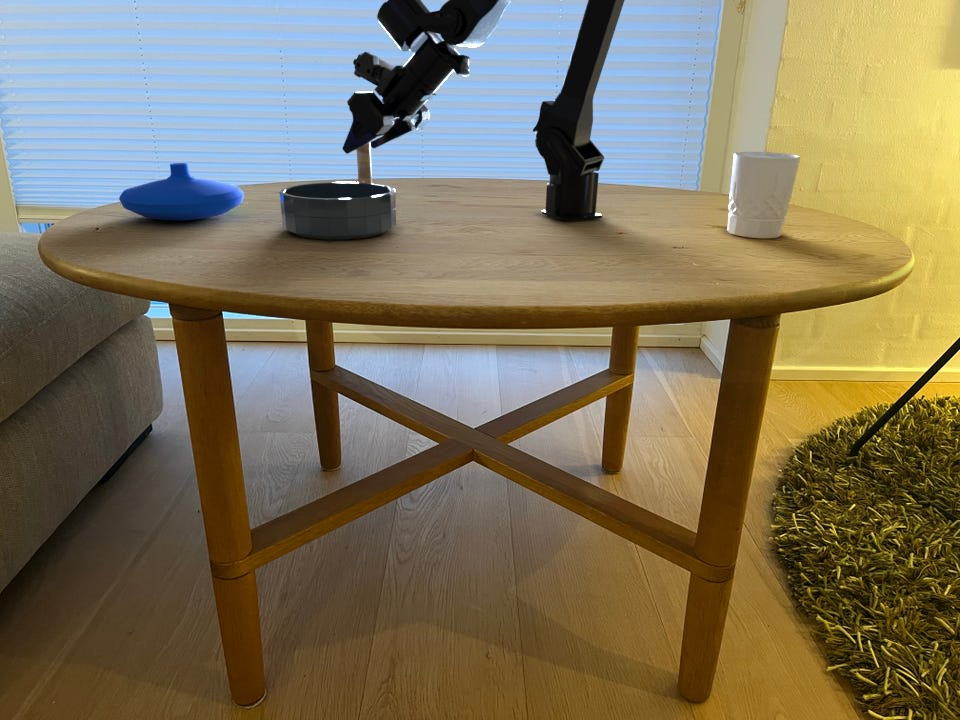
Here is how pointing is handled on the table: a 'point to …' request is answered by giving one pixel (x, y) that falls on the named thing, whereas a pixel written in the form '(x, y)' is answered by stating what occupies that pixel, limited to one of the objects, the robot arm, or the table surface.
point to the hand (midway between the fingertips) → (358, 148)
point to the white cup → (760, 193)
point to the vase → (181, 197)
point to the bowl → (338, 210)
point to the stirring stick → (364, 164)
